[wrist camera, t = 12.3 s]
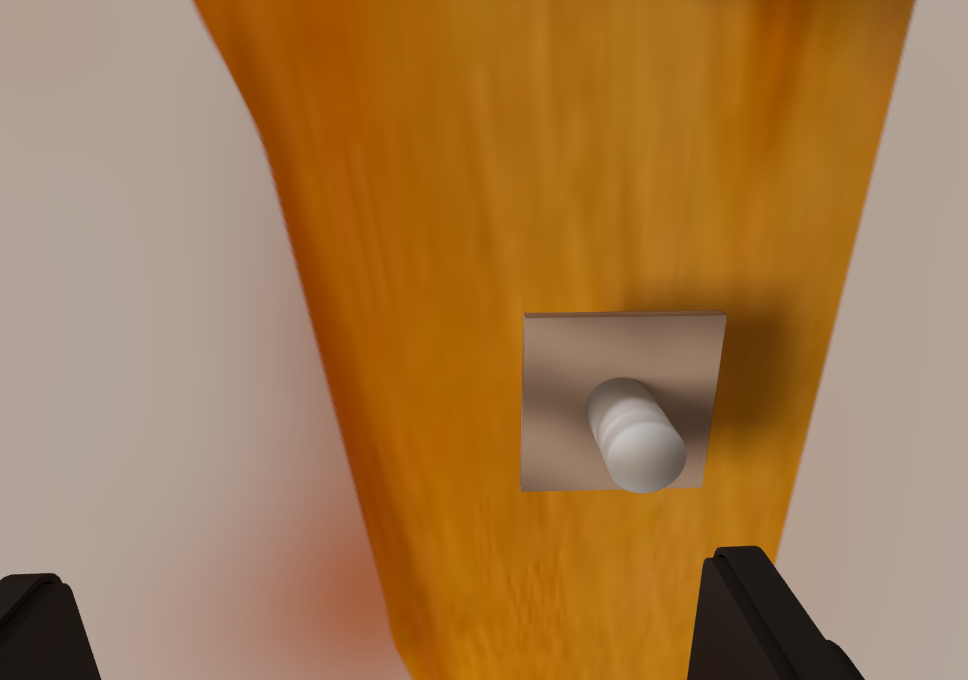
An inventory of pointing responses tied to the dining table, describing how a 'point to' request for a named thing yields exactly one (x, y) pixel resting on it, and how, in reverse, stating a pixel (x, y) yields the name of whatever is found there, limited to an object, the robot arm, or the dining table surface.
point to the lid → (618, 399)
